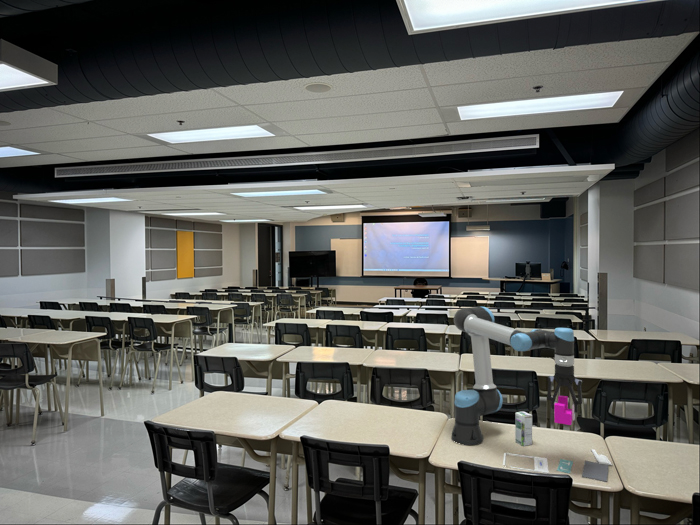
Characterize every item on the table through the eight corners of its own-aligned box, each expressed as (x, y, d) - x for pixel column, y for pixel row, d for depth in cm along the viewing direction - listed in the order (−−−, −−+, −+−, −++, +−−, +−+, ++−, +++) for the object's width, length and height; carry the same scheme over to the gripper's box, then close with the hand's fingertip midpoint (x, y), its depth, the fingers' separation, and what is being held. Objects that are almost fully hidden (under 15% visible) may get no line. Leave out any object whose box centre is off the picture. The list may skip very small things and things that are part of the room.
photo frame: (548, 472, 192) (502, 465, 198) (548, 474, 192) (502, 468, 198) (547, 457, 205) (504, 452, 212) (547, 460, 205) (504, 454, 212)
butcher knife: (603, 452, 212) (603, 449, 212) (612, 465, 198) (612, 463, 198) (591, 450, 213) (591, 448, 213) (599, 463, 199) (599, 461, 199)
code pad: (556, 470, 194) (556, 470, 194) (560, 459, 205) (560, 458, 205) (569, 473, 192) (569, 473, 192) (573, 461, 203) (573, 461, 203)
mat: (581, 476, 188) (581, 476, 188) (585, 461, 203) (585, 460, 203) (607, 482, 184) (607, 481, 184) (608, 465, 198) (608, 464, 198)
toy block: (570, 425, 190) (570, 407, 190) (554, 422, 194) (554, 404, 194) (574, 414, 203) (574, 397, 203) (558, 412, 207) (558, 395, 206)
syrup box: (514, 442, 225) (514, 412, 225) (524, 440, 227) (524, 410, 227) (522, 446, 220) (522, 416, 220) (532, 444, 222) (532, 414, 222)
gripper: (538, 363, 200) (539, 416, 200) (588, 368, 190) (589, 424, 190) (541, 360, 206) (541, 411, 207) (590, 365, 197) (590, 419, 197)
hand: (564, 417), depth 198 cm, fingers closed on toy block, 6 cm apart
